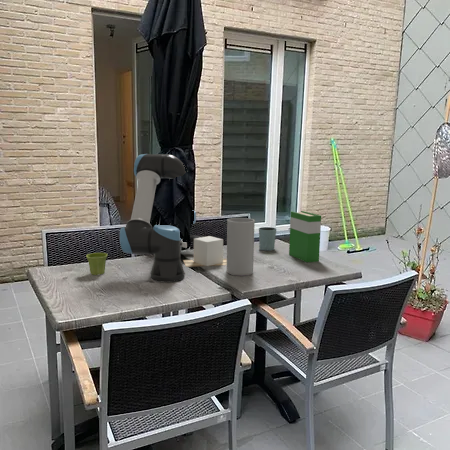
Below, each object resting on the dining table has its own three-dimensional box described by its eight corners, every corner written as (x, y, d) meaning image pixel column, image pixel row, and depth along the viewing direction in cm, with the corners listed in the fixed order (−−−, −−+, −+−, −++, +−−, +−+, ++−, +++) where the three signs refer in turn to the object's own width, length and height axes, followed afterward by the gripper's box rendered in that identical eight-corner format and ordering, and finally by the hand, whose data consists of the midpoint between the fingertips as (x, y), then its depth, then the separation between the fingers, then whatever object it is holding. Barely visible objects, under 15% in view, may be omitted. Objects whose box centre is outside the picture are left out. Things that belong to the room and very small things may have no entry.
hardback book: (289, 254, 248) (290, 211, 244) (300, 253, 251) (302, 210, 247) (306, 262, 233) (309, 216, 228) (318, 261, 235) (321, 215, 231)
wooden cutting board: (234, 266, 223) (234, 264, 223) (186, 267, 218) (186, 266, 218) (229, 259, 236) (229, 258, 236) (183, 261, 231) (183, 260, 231)
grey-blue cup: (257, 250, 258) (257, 229, 256) (258, 246, 268) (259, 226, 265) (275, 251, 256) (275, 230, 254) (276, 247, 266) (276, 227, 264)
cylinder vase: (221, 272, 212) (221, 219, 207) (238, 267, 221) (239, 216, 216) (241, 278, 203) (242, 223, 199) (258, 272, 212) (260, 220, 208)
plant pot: (102, 277, 202) (101, 258, 200) (83, 275, 203) (82, 256, 202) (111, 271, 211) (111, 253, 209) (93, 270, 212) (92, 252, 211)
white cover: (222, 262, 227) (223, 239, 225) (206, 266, 220) (207, 242, 218) (209, 258, 234) (209, 236, 232) (193, 261, 227) (193, 238, 225)
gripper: (191, 240, 257) (215, 247, 241) (153, 246, 241) (177, 254, 225) (191, 227, 256) (215, 233, 240) (153, 232, 240) (176, 239, 224)
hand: (196, 243), depth 233 cm, fingers open, 13 cm apart
